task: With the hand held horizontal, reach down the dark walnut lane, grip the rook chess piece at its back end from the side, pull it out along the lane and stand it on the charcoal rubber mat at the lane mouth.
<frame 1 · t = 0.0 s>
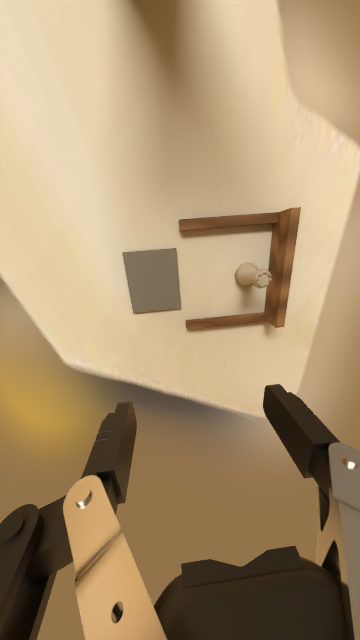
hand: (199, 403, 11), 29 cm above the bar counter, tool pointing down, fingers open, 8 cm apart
rook chess piece: (244, 273, 38), resting in walnut lane
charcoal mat: (153, 281, 37), on the bar counter
walnut lane: (226, 275, 38), on the bar counter
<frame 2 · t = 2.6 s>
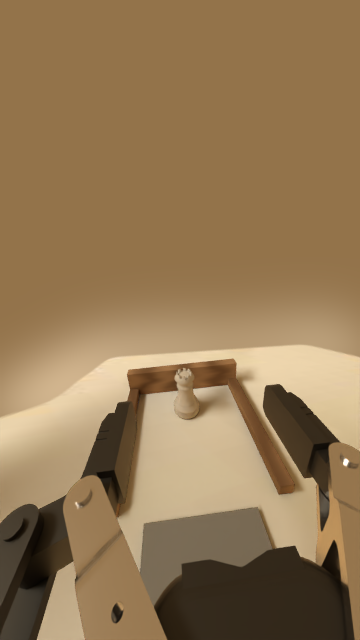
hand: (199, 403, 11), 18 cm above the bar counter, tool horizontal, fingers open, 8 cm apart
rook chess piece: (187, 410, 32), resting in walnut lane
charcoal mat: (213, 603, 15), on the bar counter
walnut lane: (189, 430, 29), on the bar counter
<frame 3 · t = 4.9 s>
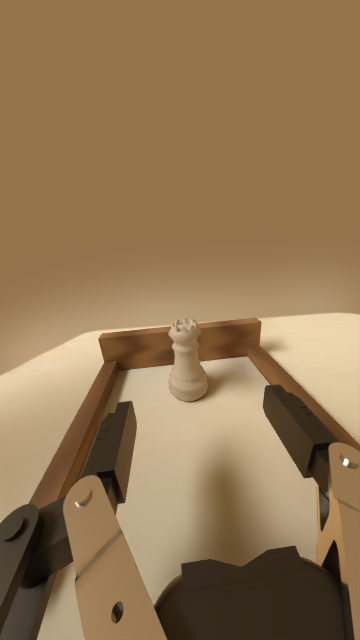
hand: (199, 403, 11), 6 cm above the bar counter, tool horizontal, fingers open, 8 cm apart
rook chess piece: (188, 389, 21), resting in walnut lane
walnut lane: (194, 418, 17), on the bar counter
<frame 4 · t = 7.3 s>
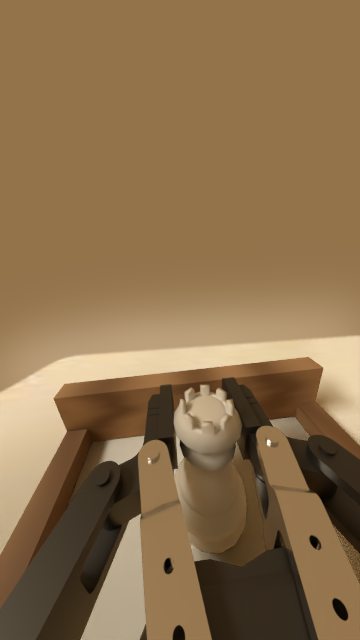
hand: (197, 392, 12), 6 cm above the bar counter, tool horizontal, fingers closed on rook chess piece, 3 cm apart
rook chess piece: (208, 503, 11), resting in walnut lane, touching gripper
walnut lane: (229, 624, 8), on the bar counter
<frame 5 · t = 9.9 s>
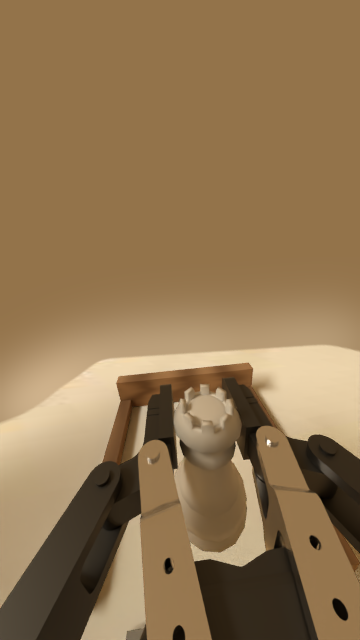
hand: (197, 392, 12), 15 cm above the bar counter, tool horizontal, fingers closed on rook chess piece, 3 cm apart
rook chess piece: (208, 502, 11), point 8 cm above the bar counter, touching gripper
walnut lane: (195, 459, 22), on the bar counter
when the fingers open (7 cm above the bar counter, at t = 12.4 s): rook chess piece stays where it is, resting on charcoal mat.
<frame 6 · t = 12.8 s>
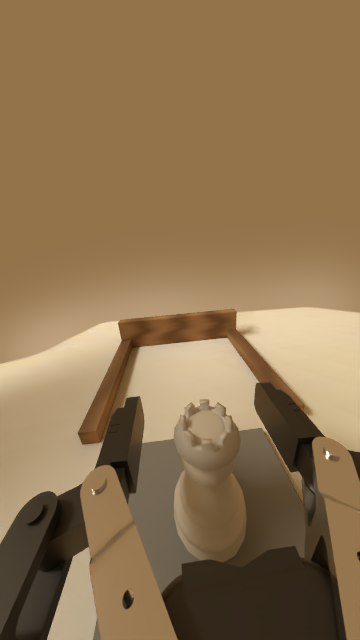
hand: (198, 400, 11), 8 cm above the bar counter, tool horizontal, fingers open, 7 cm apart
rook chess piece: (209, 513, 12), resting on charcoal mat
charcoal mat: (209, 514, 12), on the bar counter
walnut lane: (185, 371, 26), on the bar counter
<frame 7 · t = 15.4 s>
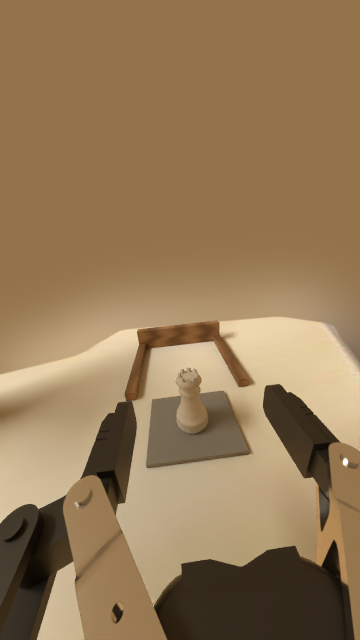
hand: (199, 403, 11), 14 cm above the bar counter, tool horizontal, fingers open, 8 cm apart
rook chess piece: (192, 422, 26), resting on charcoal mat
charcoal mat: (192, 423, 26), on the bar counter
walnut lane: (183, 363, 40), on the bar counter
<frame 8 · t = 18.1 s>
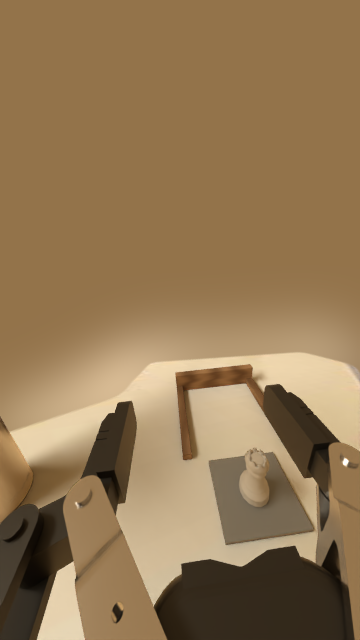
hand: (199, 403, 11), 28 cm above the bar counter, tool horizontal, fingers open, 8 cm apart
rook chess piece: (253, 491, 29), resting on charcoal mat
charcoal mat: (253, 491, 29), on the bar counter
walnut lane: (224, 413, 43), on the bar counter
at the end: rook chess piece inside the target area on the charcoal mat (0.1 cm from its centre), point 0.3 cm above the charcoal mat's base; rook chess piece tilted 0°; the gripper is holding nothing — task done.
